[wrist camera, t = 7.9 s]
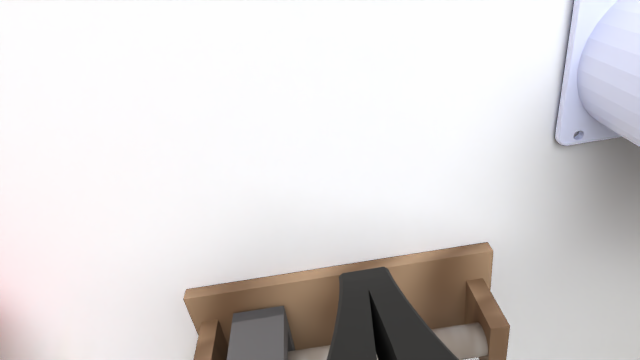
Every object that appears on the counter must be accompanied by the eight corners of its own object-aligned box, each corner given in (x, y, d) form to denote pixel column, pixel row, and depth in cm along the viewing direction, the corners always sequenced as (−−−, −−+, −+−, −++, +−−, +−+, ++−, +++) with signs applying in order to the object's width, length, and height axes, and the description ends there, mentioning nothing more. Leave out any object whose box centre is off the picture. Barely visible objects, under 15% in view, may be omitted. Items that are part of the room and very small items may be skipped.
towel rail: (487, 242, 26) (523, 297, 22) (481, 334, 30) (510, 393, 26) (186, 289, 26) (168, 351, 22) (220, 374, 30) (211, 439, 26)
